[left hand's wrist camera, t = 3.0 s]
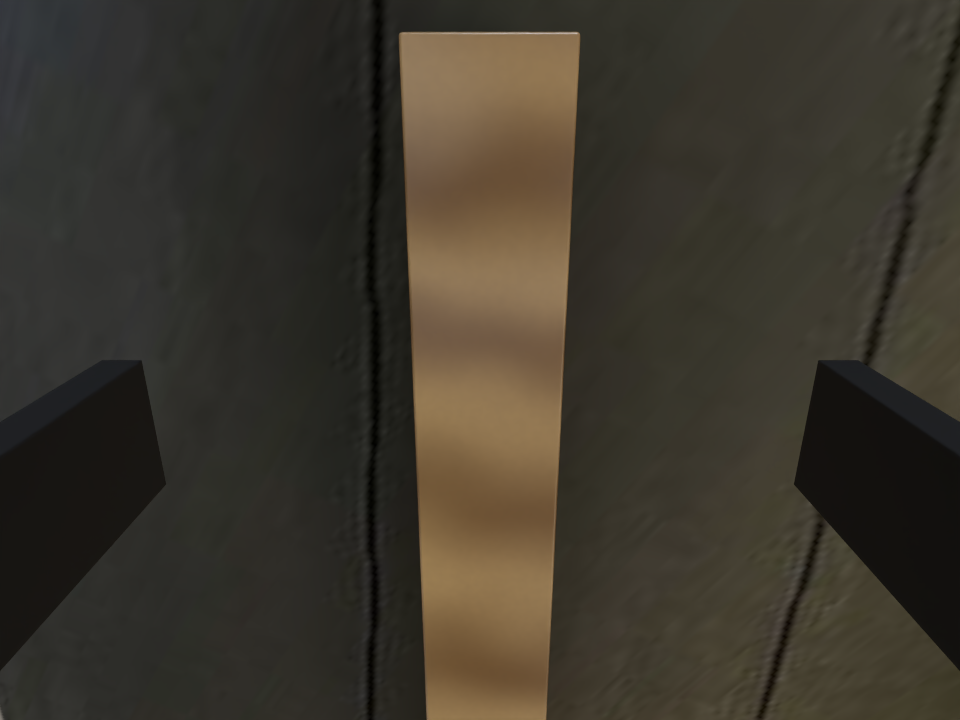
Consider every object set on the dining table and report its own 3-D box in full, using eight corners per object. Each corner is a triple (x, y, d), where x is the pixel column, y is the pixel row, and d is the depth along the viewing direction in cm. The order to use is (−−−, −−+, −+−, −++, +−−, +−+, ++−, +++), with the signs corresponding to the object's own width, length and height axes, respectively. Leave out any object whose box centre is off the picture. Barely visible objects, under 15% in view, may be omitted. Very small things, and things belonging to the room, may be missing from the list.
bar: (427, 63, 24) (397, 31, 16) (548, 63, 24) (581, 31, 16) (449, 901, 41) (441, 1087, 33) (519, 902, 41) (527, 1088, 33)
